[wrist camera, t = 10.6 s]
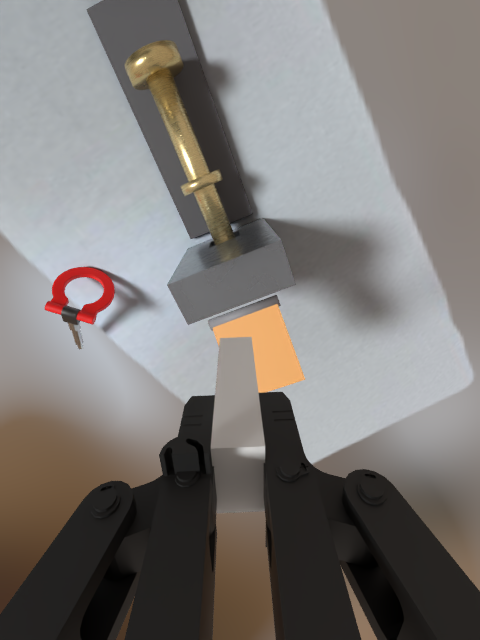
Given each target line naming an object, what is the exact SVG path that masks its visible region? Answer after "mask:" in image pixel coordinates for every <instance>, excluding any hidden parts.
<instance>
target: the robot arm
mask: <svg viewBox="0 0 480 640" xmlns="http://www.w3.org/2000/svg"><path fill="white" fill-rule="evenodd" d="M159 457H160V462H161V467H162V472H163V475H162V476H160V477H159V478H157V479H156V480H154V481H152V482H150V483H147V484H144V485H141V486H139V487H135V488H132V489H131V488H130V486H129V485H128V484H127V483H124V482H122V481H110V482H107V483H104V484H101V485H100V486H98V487H97V488H95V489H93V490H92V491H91V492H90V493H89V494H88V495H87V496H86V497H85V498H84V499H83V501H82V502H81V504H80V505H79V506H78V508H77V509H76V511H75V512H74V513H73V515H72V516H71V517H70V519H69V520H68V522H67V523H66V525H65V526H64V527H63V529H62V530H61V531H60V533H59V534H58V535H57V537H56V538H55V540H54V541H53V542H52V544H51V545H50V546H49V548H48V549H47V551H46V552H45V553H44V555H43V556H42V558H41V559H40V560H39V562H38V563H37V564H36V566H35V567H34V568H33V570H32V571H31V573H30V574H29V575H28V577H27V578H26V580H25V581H24V582H23V584H22V585H21V586H20V588H19V589H18V591H17V592H16V593H15V595H14V596H13V597H12V599H11V600H10V602H9V603H8V604H7V606H6V607H5V609H4V610H3V611H2V613H1V614H0V640H116V638H117V636H118V633H119V631H120V629H121V626H122V624H123V622H124V619H125V617H126V615H127V613H128V610H129V608H130V606H131V603H132V601H133V599H134V602H133V607H132V611H131V615H130V619H129V623H128V628H127V632H126V636H125V640H212V635H213V612H214V611H213V610H214V588H215V564H216V542H217V530H216V510H217V513H235V512H258V511H265V516H266V547H267V549H268V561H269V571H270V582H271V592H272V603H273V614H274V625H275V634H276V640H361V637H360V633H359V630H358V626H357V623H356V619H355V616H354V612H353V609H352V605H351V601H350V598H349V594H348V591H347V587H346V584H345V580H344V577H343V573H342V569H343V571H344V573H345V575H346V577H347V579H348V581H349V583H350V585H351V587H352V589H353V591H354V593H355V595H356V597H357V599H358V601H359V603H360V605H361V607H362V609H363V611H364V613H365V615H366V617H367V619H368V621H369V623H370V625H371V627H372V629H373V631H374V633H375V635H376V637H377V639H378V640H480V591H479V590H478V589H477V587H476V586H475V585H474V584H473V583H472V581H470V579H469V578H468V576H467V575H466V574H465V573H464V571H463V570H462V569H461V568H460V567H459V565H458V564H457V563H456V562H455V560H454V559H453V558H452V557H451V556H450V554H449V553H448V552H447V551H446V549H445V548H444V547H443V546H442V544H441V543H440V542H439V541H438V539H437V538H436V537H435V536H434V535H433V533H432V532H431V531H430V530H429V528H428V527H427V526H426V525H425V524H424V522H423V521H422V520H421V519H420V517H419V516H418V515H417V514H416V513H415V511H414V510H413V509H412V508H411V506H410V505H409V504H408V503H407V501H406V500H405V499H404V498H403V496H402V495H401V494H400V493H399V492H398V490H397V489H396V488H395V487H394V485H393V484H392V483H391V482H389V481H388V480H387V479H386V478H385V477H384V476H382V475H380V474H378V473H376V472H374V471H370V470H365V469H363V470H355V471H353V472H351V473H349V474H348V476H347V477H346V478H342V477H338V476H334V475H330V474H327V473H324V472H322V471H320V470H318V469H316V468H315V467H314V466H313V465H312V464H310V462H309V461H308V460H307V458H306V456H305V454H304V451H303V447H302V443H301V440H300V436H299V432H298V429H297V425H296V421H295V417H294V414H293V410H292V406H291V402H290V400H289V399H288V398H287V397H286V395H285V394H284V393H283V392H266V393H258V385H257V377H256V369H255V361H254V353H253V345H252V337H235V338H220V343H219V355H218V367H217V379H216V390H215V395H212V396H192V397H191V398H190V399H189V401H188V402H187V403H186V404H185V407H184V411H183V417H182V420H181V426H180V429H179V434H178V437H176V438H174V439H173V440H170V441H169V442H168V443H167V444H166V445H165V446H164V447H163V448H162V450H161V452H160V454H159ZM340 565H341V566H340ZM341 567H342V569H341ZM134 596H135V598H134Z"/></svg>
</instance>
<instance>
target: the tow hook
mask: <svg viewBox="0 0 480 640" xmlns="http://www.w3.org/2000/svg"><path fill="white" fill-rule="evenodd" d="M80 277H89V278H93V279H96V280H97V281H99V282H100V283H101V284H102V286H103V288H104V293H103V295H102V297H101V298H100V299H99V300H98V301H96V302H94V303H91V304H86V305H84V306H83V308H82V310H79V309H76V308H72V307H69V306H67V304H68V303H69V301H68V298H67V297H66V296H65V292H64V290H65V287H66V285H67V284H68V283H69V282H70V281H72V280H74V279H76V278H80ZM52 294H53V299H52V300H51V302H50V301H48V302H47V303H46V305H45V310H47V311H50V312H53V313H56V314H60V315H62V318H63V321H64V322H68V324H69V328H70V330H72V333H73V337H74V340H75V343H76V345H78V348H79V349H82V348H83V345H82V343H83V339H82V335H81V331H80V321H83V322H86V323H90V324H94V322H95V320H96V315H97V313H98V312H100V311H102V310H104V309H106V308H107V307H108V306H109V305H110V304H111V302H112V300H113V298H114V294H115V290H114V284H113V282H112V280H111V279H110V278H109V277H108V276H107V275H106V274H105V273H103V272H102V271H100V270H97V269H94V268H89V267H78V268H73V269H70V270H67V271H65V272H63V273H62V274H61V275H59V276H58V277H57V279H56V280H55V281H54V284H53V287H52Z"/></svg>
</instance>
